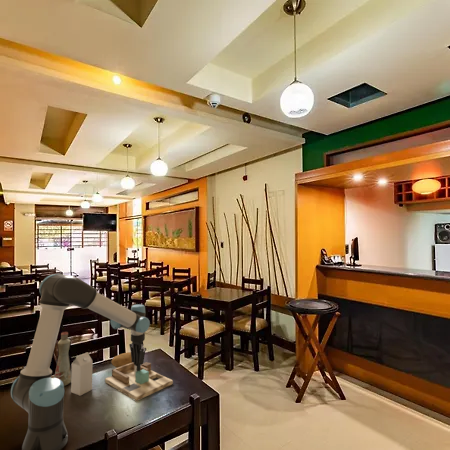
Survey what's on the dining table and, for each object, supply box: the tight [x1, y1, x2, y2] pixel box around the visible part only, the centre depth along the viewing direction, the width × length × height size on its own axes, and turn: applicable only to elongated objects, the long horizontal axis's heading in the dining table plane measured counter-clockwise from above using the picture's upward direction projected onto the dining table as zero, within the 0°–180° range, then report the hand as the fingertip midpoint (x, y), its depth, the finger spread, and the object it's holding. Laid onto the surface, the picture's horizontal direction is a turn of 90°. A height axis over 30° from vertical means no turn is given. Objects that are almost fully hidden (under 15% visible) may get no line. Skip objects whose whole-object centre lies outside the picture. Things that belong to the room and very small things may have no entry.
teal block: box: [135, 369, 149, 384], centre depth 165 cm, size 5×5×5 cm
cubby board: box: [104, 362, 174, 402], centre depth 167 cm, size 23×30×6 cm
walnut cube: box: [141, 361, 152, 371], centre depth 178 cm, size 4×4×4 cm
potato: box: [110, 351, 134, 369], centre depth 187 cm, size 10×14×8 cm
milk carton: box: [70, 352, 93, 396], centre depth 158 cm, size 7×7×19 cm
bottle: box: [53, 331, 72, 387], centre depth 166 cm, size 9×9×28 cm
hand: (137, 376), depth 167 cm, fingers closed
